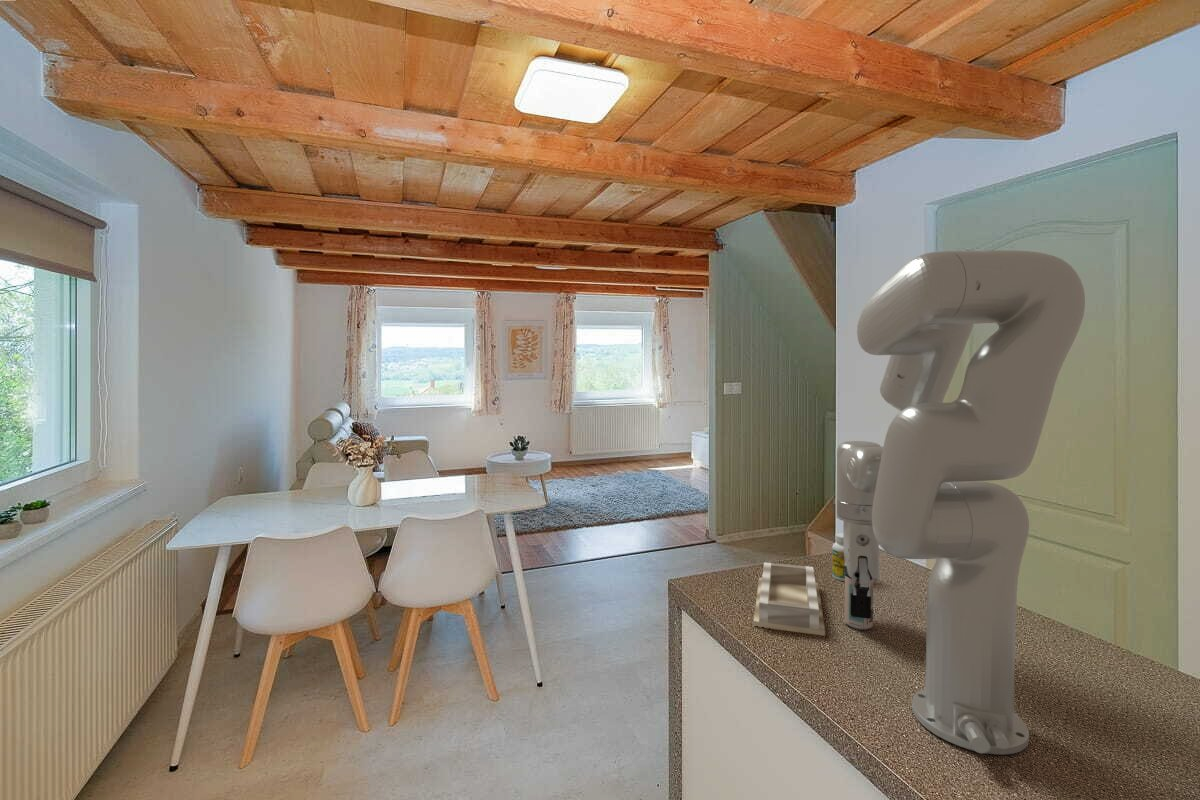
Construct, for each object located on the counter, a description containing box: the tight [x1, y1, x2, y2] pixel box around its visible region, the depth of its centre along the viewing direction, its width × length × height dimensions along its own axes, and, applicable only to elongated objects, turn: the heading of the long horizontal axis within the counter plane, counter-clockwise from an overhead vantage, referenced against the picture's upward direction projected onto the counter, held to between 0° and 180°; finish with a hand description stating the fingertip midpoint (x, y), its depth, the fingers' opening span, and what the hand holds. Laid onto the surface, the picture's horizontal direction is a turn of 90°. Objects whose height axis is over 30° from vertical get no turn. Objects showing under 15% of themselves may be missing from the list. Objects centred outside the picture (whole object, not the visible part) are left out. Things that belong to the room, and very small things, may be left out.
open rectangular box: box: [752, 562, 826, 637], centre depth 108 cm, size 22×12×4 cm, turn 161°
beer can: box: [843, 563, 874, 631], centre depth 99 cm, size 5×5×12 cm
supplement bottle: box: [831, 532, 845, 582], centre depth 122 cm, size 5×5×10 cm
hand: (858, 609), depth 99 cm, fingers closed on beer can, 4 cm apart
